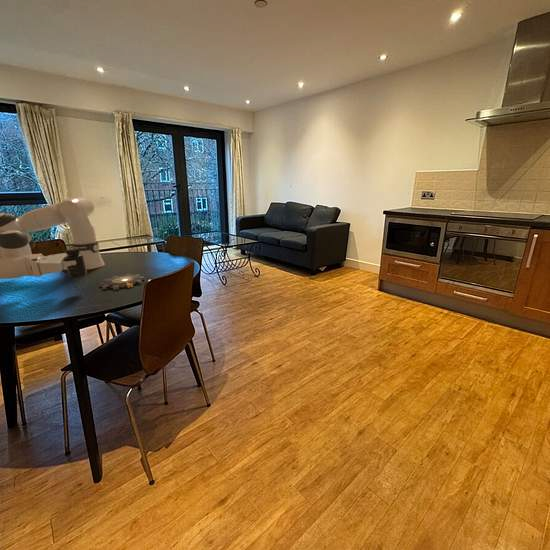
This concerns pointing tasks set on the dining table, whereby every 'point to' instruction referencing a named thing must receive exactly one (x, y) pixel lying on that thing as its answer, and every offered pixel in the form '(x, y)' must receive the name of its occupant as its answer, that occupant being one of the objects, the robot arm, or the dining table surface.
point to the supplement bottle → (80, 267)
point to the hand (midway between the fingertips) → (77, 259)
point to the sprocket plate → (122, 281)
